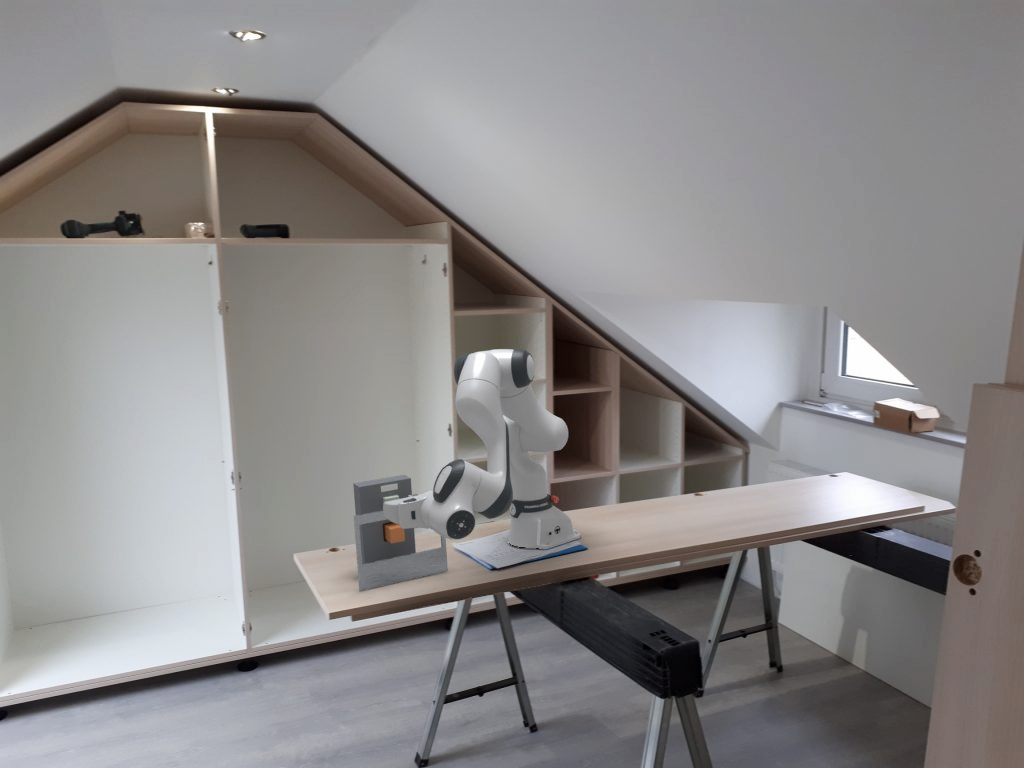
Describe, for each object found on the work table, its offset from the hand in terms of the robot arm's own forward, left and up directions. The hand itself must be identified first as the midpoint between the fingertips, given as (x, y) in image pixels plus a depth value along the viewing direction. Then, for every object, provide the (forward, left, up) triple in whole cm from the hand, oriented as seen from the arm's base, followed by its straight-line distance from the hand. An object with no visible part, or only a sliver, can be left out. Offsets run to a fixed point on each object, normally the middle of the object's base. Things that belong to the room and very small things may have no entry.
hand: (413, 497), depth 216 cm
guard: (0, -14, -26) cm, 29 cm away
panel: (+1, -20, -26) cm, 33 cm away
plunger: (0, -17, -16) cm, 23 cm away
